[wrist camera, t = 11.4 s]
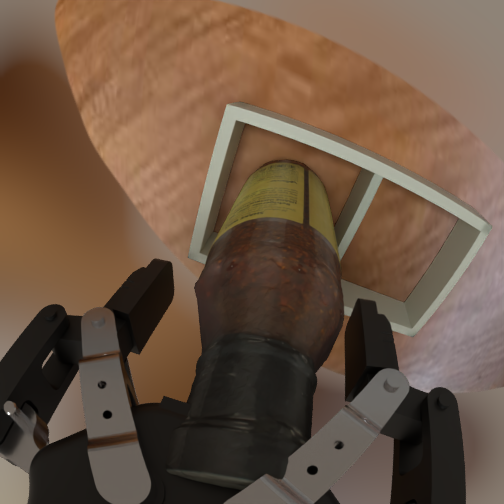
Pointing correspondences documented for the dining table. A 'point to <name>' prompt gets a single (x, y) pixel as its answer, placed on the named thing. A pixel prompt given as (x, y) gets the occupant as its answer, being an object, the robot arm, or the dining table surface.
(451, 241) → the corral
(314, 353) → the sauce bottle
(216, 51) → the dining table surface
